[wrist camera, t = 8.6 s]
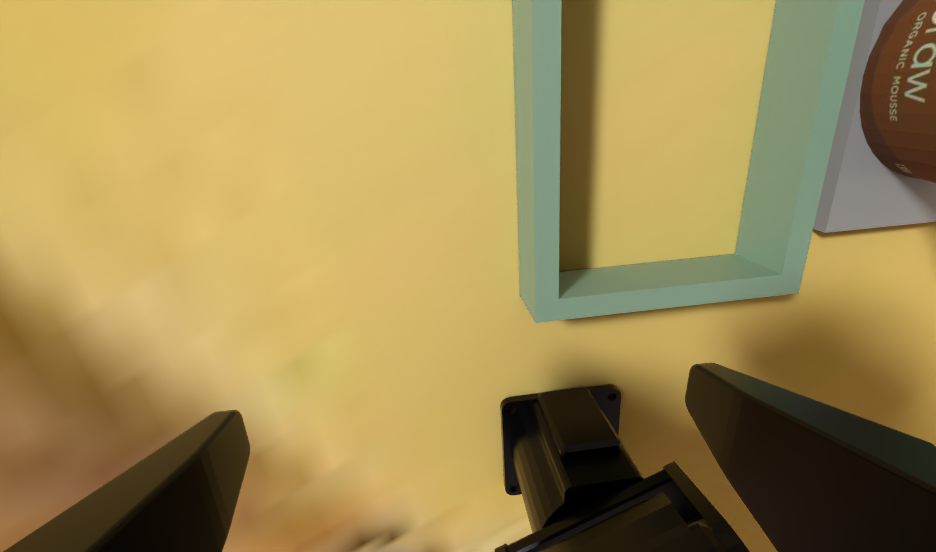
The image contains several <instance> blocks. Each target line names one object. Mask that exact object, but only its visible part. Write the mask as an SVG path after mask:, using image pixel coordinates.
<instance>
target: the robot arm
mask: <svg viewBox="0 0 936 552" xmlns="http://www.w3.org/2000/svg"><path fill="white" fill-rule="evenodd" d="M610 393H613V394H612V395H611V396H608V395H609V394H610ZM620 402H621V393H620V391H619V390H618V389H617V387H616V386H614V385H603V386H595V387H587V388H577V389H569V390H561V391H553V392H545V393H539V394H531V395H523V396H516V397H509V398H506V399H504V400H503V401H502V402H501V406H500V409H501V429H502V450H503V471H504V486H505V490H506V493H507V494H509V495H519V494H522V496H523V500H524V503H525V507H526V511H527V514H528V518H529V521H530V525H531V529H532V532H533V533H532V534H530V535H528V536H526V537H524V538H522V539H520V540H518V541H516V542H513V543H511V544H509V545H507V544H504V545H502V546H500V547H498V548H496V549H495V552H749V550H748V549H747V548H746V546H745V545H744V543H743V542H742V541H741V539H740V538H739V537H738V535H737V534H736V533H735V531H734V530H733V529H732V527H731V526H730V525H729V524H728V523H727V521H726V520H725V519H724V518H723V517H722V516H721V514H720V513H719V512H718V511H717V510H716V509H715V508H714V506H713V505H712V504H711V503H710V502H709V501H708V499H707V498H706V497H705V496H704V495H703V494H702V493H701V491H700V490H699V489H698V488H697V487H696V486H695V485H694V483H693V482H692V481H691V480H690V479H689V478H688V477H687V475H686V474H685V473H684V472H683V471H682V470H681V469H680V467H679V466H678V465H677V464H676V463H675V462H672V463H670V464H668V465H666V466H664V467H663V470H661V471H659V472H657V473H655V474H653V475H651V476H649V477H647V478H645V479H644V478H643V477H642V475H641V473H640V472H639V470H638V468H637V467H636V465H635V464H634V462H633V460H632V459H631V457H630V456H629V454H628V452H627V451H626V449H625V448H624V446H623V444H622V443H621V440H620V438H619V437H618V429H619V415H620ZM685 402H686V406H687V409H688V411H689V413H690V415H691V416H692V418H693V420H694V422H695V424H696V425H697V427H698V429H699V431H700V432H701V434H702V436H703V438H704V439H705V441H706V443H707V445H708V447H709V448H710V450H711V452H712V454H713V455H714V457H715V459H716V461H717V462H718V464H719V466H720V467H721V469H722V471H723V472H724V474H725V476H726V477H727V479H728V480H729V482H730V483H731V485H732V486H733V488H734V489H735V491H736V492H737V494H738V495H739V496H740V498H741V499H742V501H743V502H744V504H745V505H746V506H747V508H748V509H749V511H750V512H751V514H752V515H753V516H754V518H755V519H756V521H757V522H758V524H759V525H760V526H761V528H762V529H763V531H764V532H765V534H766V535H767V536H768V538H769V539H770V541H771V542H772V544H773V545H774V547H775V548H776V549H777V551H778V552H936V447H935V446H934V445H933V444H932V443H929V442H927V441H924V440H921V439H919V438H916V437H913V436H910V435H908V434H905V433H902V432H900V431H897V430H894V429H891V428H889V427H886V426H883V425H881V424H878V423H875V422H872V421H870V420H867V419H864V418H862V417H859V416H856V415H854V414H851V413H848V412H845V411H843V410H840V409H837V408H835V407H832V406H829V405H826V404H824V403H821V402H818V401H816V400H813V399H810V398H807V397H805V396H802V395H799V394H797V393H794V392H791V391H789V390H786V389H783V388H780V387H778V386H775V385H772V384H770V383H767V382H764V381H761V380H759V379H756V378H753V377H751V376H748V375H745V374H742V373H740V372H737V371H734V370H732V369H729V368H726V367H724V366H721V365H718V364H715V363H703V364H695V365H693V366H692V367H691V369H690V372H689V378H688V384H687V390H686V396H685ZM509 406H514V407H513V408H511V409H507V408H508V407H509ZM249 456H250V444H249V440H248V436H247V433H246V429H245V425H244V422H243V418H242V415H241V414H240V412H239V411H237V410H228V411H218V412H214V413H212V414H211V415H209V416H208V417H206V418H205V419H203V420H202V421H200V422H199V423H197V424H196V425H194V426H193V427H191V428H190V429H188V430H187V431H185V432H184V433H182V434H181V435H179V436H178V437H176V438H175V439H173V440H171V441H170V442H168V443H167V444H165V445H164V446H162V447H161V448H159V449H158V450H156V451H155V452H153V453H152V454H150V455H149V456H147V457H146V458H144V459H143V460H141V461H140V462H138V463H137V464H135V465H134V466H132V467H131V468H129V469H128V470H126V471H125V472H123V473H122V474H120V475H119V476H117V477H116V478H114V479H113V480H111V481H109V482H108V483H106V484H105V485H103V486H102V487H100V488H99V489H97V490H96V491H94V492H93V493H91V494H90V495H88V496H87V497H85V498H84V499H82V500H81V501H79V502H78V503H76V504H75V505H73V506H72V507H70V508H69V509H67V510H66V511H64V512H63V513H61V514H60V515H58V516H57V517H55V518H54V519H52V520H51V521H49V522H47V523H46V524H44V525H43V526H41V527H40V528H38V529H37V530H35V531H34V532H32V533H31V534H29V535H28V536H26V537H25V538H23V539H22V540H20V541H19V542H17V543H16V544H14V545H13V546H11V547H10V548H8V549H7V550H5V551H4V552H222V550H223V547H224V545H225V542H226V539H227V536H228V533H229V529H230V526H231V523H232V519H233V515H234V512H235V508H236V504H237V501H238V497H239V493H240V490H241V486H242V482H243V479H244V475H245V471H246V467H247V464H248V460H249ZM513 485H515V486H513Z"/></svg>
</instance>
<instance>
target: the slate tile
mask: <svg viewBox="0 0 936 552" xmlns="http://www.w3.org/2000/svg"><path fill="white" fill-rule="evenodd" d="M901 1H902V0H865V2H864V6H863V10H862V15H861V19H860V24H859V28H858V33H857V37H856V41H855V46H854V50H853V55H852V59H851V63H850V68H849V72H848V77H847V81H846V86H845V90H844V94H843V99H842V103H841V108H840V112H839V116H838V121H837V125H836V130H835V134H834V139H833V143H832V147H831V152H830V156H829V161H828V165H827V169H826V174H825V178H824V183H823V187H822V192H821V196H820V200H819V205H818V209H817V214H816V218H815V222H814V227H813V229H814V230H818V231H821V232H824V233H828V232H838V231H848V230H858V229H868V228H878V227H887V226H897V225H907V224H917V223H927V222H936V183H934V182H929V181H925V180H921V179H917V178H912V177H908V176H904V175H902V174H899V173H897V172H894V171H892V170H891V169H889V168H888V167H886V166H885V165H884V164H882V163H881V162H880V161H879V160H878V159H877V157H876V156H875V155H874V154H873V153H872V151H871V149H870V147H869V146H868V144H867V142H866V139H865V136H864V133H863V130H862V127H861V119H860V112H859V110H860V91H861V85H862V79H863V74H864V71H865V68H866V64H867V61H868V58H869V55H870V53H871V51H872V49H873V47H874V44H875V42H876V40H877V38H878V36H879V34H880V32H881V30H882V27H883V25H884V24H885V23H886V21H887V20H888V19H889V17H890V16H891V15H892V13H893V12H894V11H895V9H896V8H897V7H898V5H899V4H900V3H901Z"/></svg>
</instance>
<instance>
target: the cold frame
mask: <svg viewBox="0 0 936 552" xmlns="http://www.w3.org/2000/svg"><path fill="white" fill-rule="evenodd" d="M864 2H865V0H776V6H775V12H774V18H773V24H772V30H771V36H770V42H769V48H768V55H767V61H766V67H765V73H764V79H763V85H762V91H761V97H760V104H759V110H758V116H757V122H756V128H755V134H754V140H753V147H752V153H751V159H750V165H749V171H748V177H747V183H746V189H745V196H744V202H743V208H742V214H741V220H740V226H739V232H738V238H737V245H736V251H735V254H729V255H719V256H709V257H700V258H690V259H680V260H671V261H661V262H651V263H642V264H632V265H622V266H613V267H603V268H593V269H584V270H574V271H564V272H559V215H560V112H561V9H562V0H512V9H513V48H514V88H515V127H516V166H517V205H518V244H519V283H520V296H521V298H522V300H523V302H524V304H525V305H526V307H527V309H528V311H529V312H530V314H531V316H532V318H533V319H534V321H535V323H540V322H548V321H557V320H566V319H575V318H584V317H593V316H602V315H610V314H619V313H628V312H637V311H646V310H655V309H664V308H673V307H681V306H690V305H699V304H708V303H717V302H726V301H735V300H743V299H752V298H761V297H770V296H779V295H788V294H797V293H799V289H800V284H801V280H802V275H803V271H804V267H805V262H806V258H807V253H808V249H809V245H810V240H811V236H812V231H813V227H814V222H815V218H816V214H817V209H818V205H819V200H820V196H821V192H822V187H823V183H824V178H825V174H826V169H827V165H828V161H829V156H830V152H831V147H832V143H833V139H834V134H835V130H836V125H837V121H838V116H839V112H840V108H841V103H842V99H843V94H844V90H845V86H846V81H847V77H848V72H849V68H850V63H851V59H852V55H853V50H854V46H855V41H856V37H857V33H858V28H859V24H860V19H861V15H862V10H863V6H864Z"/></svg>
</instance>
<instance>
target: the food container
mask: <svg viewBox="0 0 936 552" xmlns="http://www.w3.org/2000/svg"><path fill="white" fill-rule="evenodd" d="M859 112H860V119H861V127H862V130H863V133H864V136H865V139H866V142H867V144H868V146H869V147H870V149H871V151H872V153H873V154H874V155H875V156H876V157H877V159H878V160H879V161H880V162H881V163H882V164H884V165H885V166H886V167H888V168H889V169H891V170H892V171H894V172H897V173H899V174H902V175H904V176H908V177H912V178H917V179H921V180H925V181H929V182H934V183H936V0H902V1H901V3H900V4H899V5H898V7H897V8H896V9H895V11H894V12H893V13H892V15H891V16H890V17H889V19H888V20H887V21H886V23H885V24H884V25H883V27H882V30H881V32H880V34H879V36H878V38H877V40H876V42H875V44H874V47H873V49H872V51H871V53H870V55H869V58H868V61H867V64H866V68H865V71H864V74H863V79H862V85H861V91H860V110H859Z"/></svg>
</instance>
